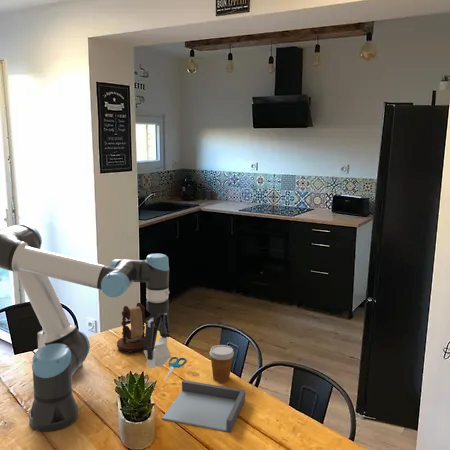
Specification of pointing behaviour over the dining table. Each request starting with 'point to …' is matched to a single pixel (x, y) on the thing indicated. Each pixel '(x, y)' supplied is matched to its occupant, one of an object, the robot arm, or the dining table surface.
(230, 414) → the tray
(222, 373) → the disposable coffee cup
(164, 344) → the die
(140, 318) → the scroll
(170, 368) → the scissors
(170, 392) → the dining table surface
